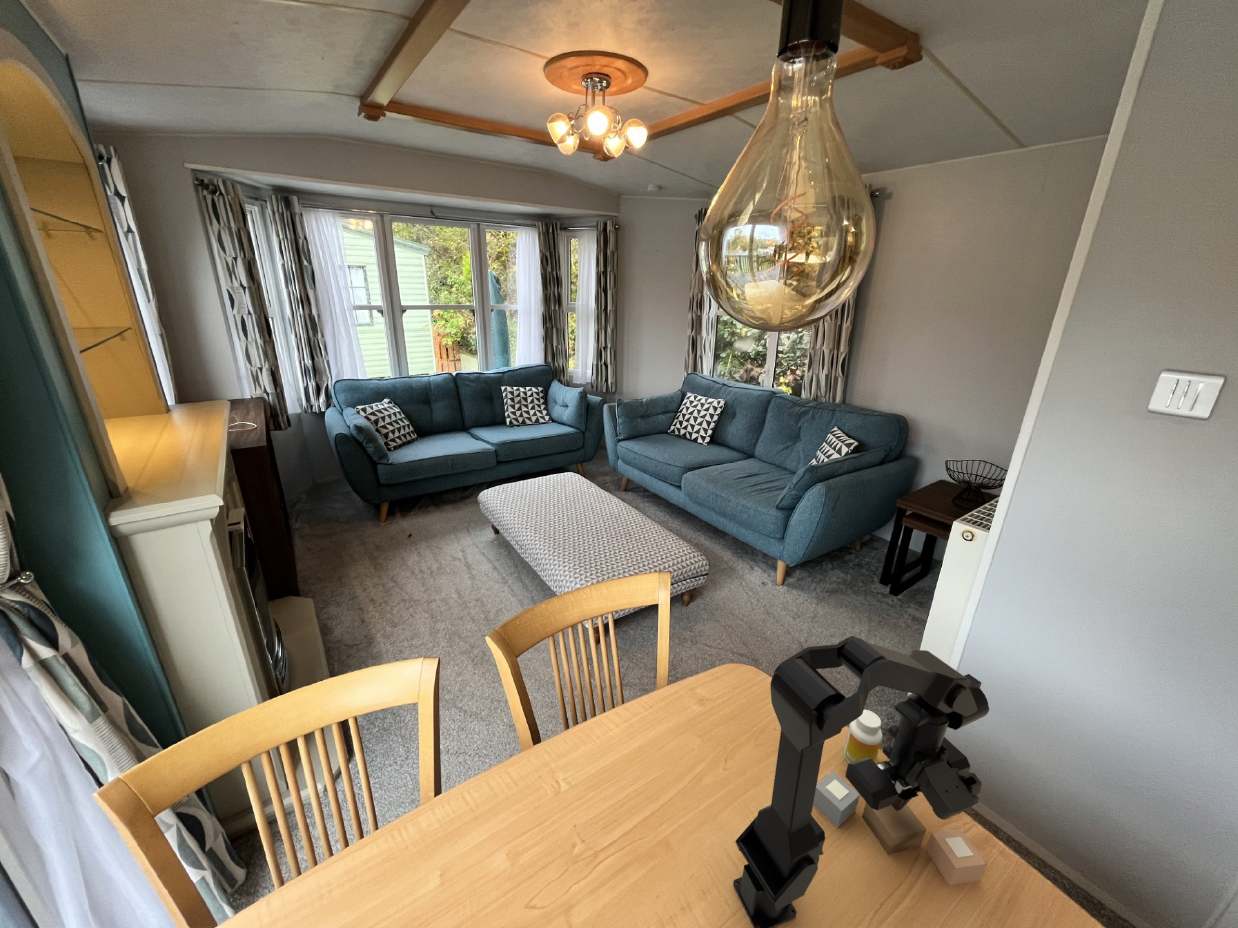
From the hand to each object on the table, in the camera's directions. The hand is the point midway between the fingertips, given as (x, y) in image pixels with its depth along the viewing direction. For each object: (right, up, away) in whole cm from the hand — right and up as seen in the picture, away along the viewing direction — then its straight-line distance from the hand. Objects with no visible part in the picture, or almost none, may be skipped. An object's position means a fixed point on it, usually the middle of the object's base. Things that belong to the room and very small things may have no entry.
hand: (895, 807), depth 80 cm
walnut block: (0, -5, +2) cm, 5 cm away
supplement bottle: (+1, -1, +14) cm, 14 cm away
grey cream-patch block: (-8, -4, +5) cm, 10 cm away
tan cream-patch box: (+7, -7, -3) cm, 10 cm away
